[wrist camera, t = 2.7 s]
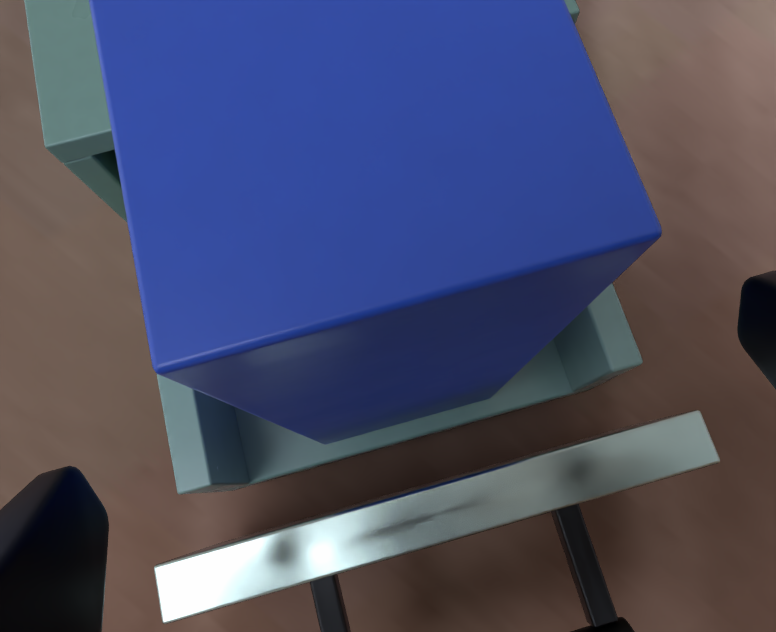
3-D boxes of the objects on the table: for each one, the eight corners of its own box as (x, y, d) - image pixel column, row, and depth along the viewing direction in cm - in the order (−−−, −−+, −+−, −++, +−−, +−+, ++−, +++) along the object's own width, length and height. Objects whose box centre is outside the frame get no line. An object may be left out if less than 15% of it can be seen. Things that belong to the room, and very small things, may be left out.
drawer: (696, 618, 17) (809, 671, 12) (258, 751, 16) (198, 860, 12) (487, 60, 22) (510, -55, 17) (144, 148, 21) (70, 54, 16)
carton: (492, 397, 17) (668, 233, 6) (322, 445, 17) (150, 375, 6) (423, 183, 19) (452, -271, 8) (269, 224, 19) (54, -178, 7)
